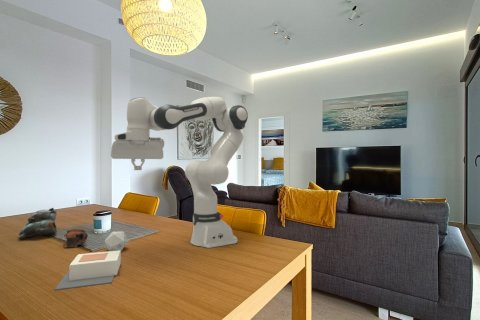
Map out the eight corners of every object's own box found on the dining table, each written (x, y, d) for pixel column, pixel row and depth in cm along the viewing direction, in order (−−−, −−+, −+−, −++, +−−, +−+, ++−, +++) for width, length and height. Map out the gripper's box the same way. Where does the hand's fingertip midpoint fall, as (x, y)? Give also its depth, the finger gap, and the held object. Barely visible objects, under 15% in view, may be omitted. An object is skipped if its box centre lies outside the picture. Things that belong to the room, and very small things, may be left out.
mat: (119, 259, 102) (119, 258, 102) (111, 282, 83) (111, 282, 83) (74, 264, 97) (74, 263, 97) (54, 290, 78) (54, 289, 78)
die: (112, 256, 107) (127, 236, 110) (96, 245, 108) (112, 225, 111) (120, 256, 115) (135, 237, 117) (105, 246, 116) (120, 227, 119)
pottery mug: (56, 249, 115) (60, 230, 119) (74, 252, 123) (77, 234, 127) (78, 244, 112) (81, 225, 116) (95, 247, 120) (97, 230, 124)
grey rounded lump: (10, 240, 124) (15, 209, 131) (35, 243, 137) (38, 214, 143) (41, 231, 123) (44, 200, 130) (64, 235, 135) (66, 206, 142)
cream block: (120, 249, 98) (78, 253, 93) (116, 259, 88) (69, 264, 84) (120, 263, 98) (78, 268, 94) (116, 274, 88) (69, 280, 84)
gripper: (164, 138, 114) (163, 169, 114) (112, 136, 108) (112, 169, 108) (164, 137, 108) (164, 170, 108) (110, 135, 102) (110, 170, 102)
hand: (138, 170), depth 108 cm, fingers closed
